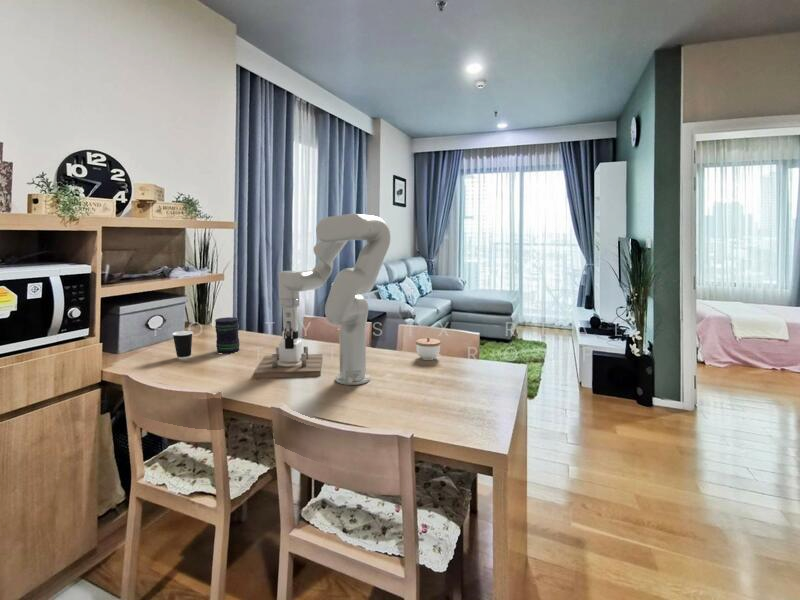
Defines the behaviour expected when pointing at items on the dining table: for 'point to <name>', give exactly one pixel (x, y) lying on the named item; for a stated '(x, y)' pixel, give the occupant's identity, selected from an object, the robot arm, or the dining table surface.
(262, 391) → the dining table surface
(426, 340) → the lidded jar
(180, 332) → the dixie cup
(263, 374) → the peg board
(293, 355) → the medicine bottle
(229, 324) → the storage jar
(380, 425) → the dining table surface
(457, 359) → the dining table surface
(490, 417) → the dining table surface
